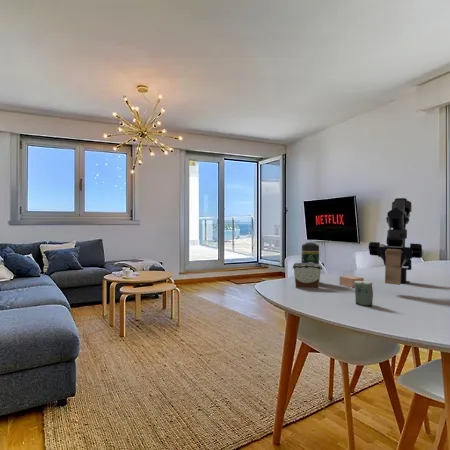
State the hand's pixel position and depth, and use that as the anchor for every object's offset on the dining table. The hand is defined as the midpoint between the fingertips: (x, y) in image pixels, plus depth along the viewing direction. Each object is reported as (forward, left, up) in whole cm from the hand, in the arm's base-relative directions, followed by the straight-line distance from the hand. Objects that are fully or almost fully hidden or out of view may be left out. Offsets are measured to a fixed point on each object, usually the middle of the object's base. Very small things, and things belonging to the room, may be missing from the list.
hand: (393, 266), depth 127 cm
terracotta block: (-3, -21, -11) cm, 24 cm away
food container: (+17, -29, -11) cm, 35 cm away
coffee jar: (+8, -35, -11) cm, 37 cm away
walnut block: (-1, -1, -7) cm, 7 cm away
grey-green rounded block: (+24, +3, -11) cm, 26 cm away
